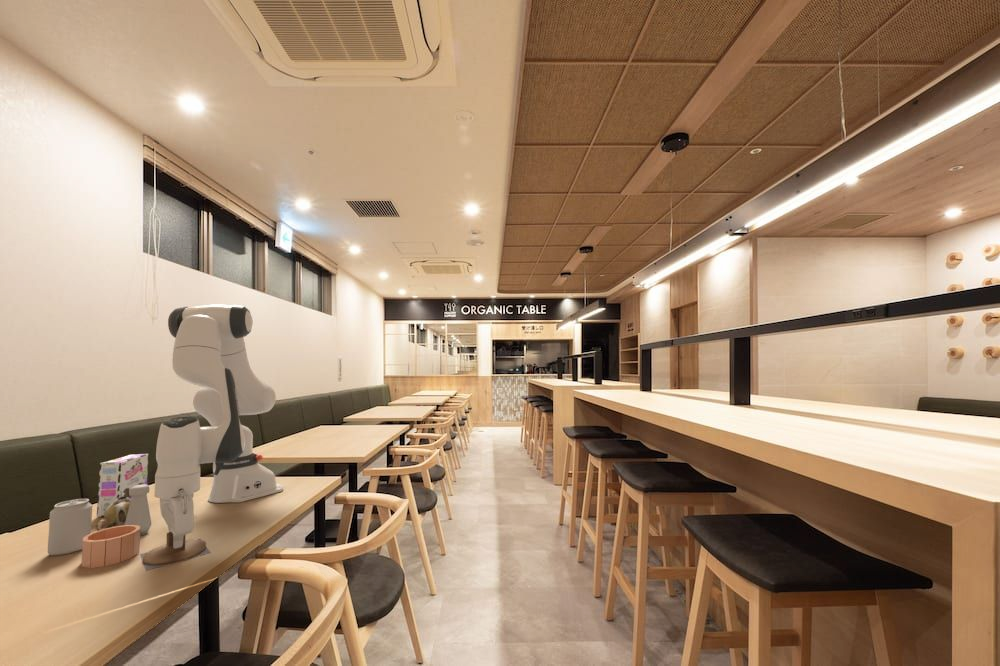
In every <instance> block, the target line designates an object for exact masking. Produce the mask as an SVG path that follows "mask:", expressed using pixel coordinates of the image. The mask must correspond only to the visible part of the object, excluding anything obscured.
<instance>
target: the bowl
mask: <svg viewBox="0 0 1000 666" xmlns="http://www.w3.org/2000/svg"><path fill="white" fill-rule="evenodd" d="M140 542H141V536H140V526H139V525H123V526H116V527H111V528H106V529H102V530H99V531H98V530H97V531H93V532H91V533H90V534H88V535H87V536H85V537H83V543H82V550H81V567H82V568H86V569H87V568H88V569H94V568H100V567H108V566H112V565H115V564H119V563H122V562H125V561H126V560H129V559H132V558H133V557H135V556H137V555H138V554H139V553H140V547H141V546H140V544H141V543H140Z"/></svg>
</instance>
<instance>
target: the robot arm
mask: <svg viewBox="0 0 1000 666" xmlns="http://www.w3.org/2000/svg"><path fill="white" fill-rule="evenodd" d="M167 327H168V331H169V333H170V335H171V336H172V337H173V338H174V345H173V349H172V350H173V351H172V361H171V362H172V369H173V372H174V373H175V375H177V377H179V379H182V380H183V381H185V382H187V383H189V384H192V385H194V386H197V387H201V388H199V389H198V390H197V391H196V392H195V394H194V396H193V401H192V405H193V409H194V410H195V411H196V413H197V414H199V415H200V416H202V417H203V418H204V419H205V420H206V421H207V422H208V423H209V424H210V426H201V425H200V420H199V419H198V418H197V417H194V416H193V417H192V416H177V417H173V418H168V419H166V420H164V421H162V423H161V424H160V427H159V431H158V436H157V440H156V441H157V442H156V445H155V446H156V448H155V459H156V463H157V469H156V472H155V474H154V494H153V495H154V497H155V498H159V506H160V507H159V509H160V514H161V517H162V518H163V521H164V522H165V523H166V525H167V527H168V533H169V532H172V533H173V548H175V549H176V548H180V547H182V546H183V538H184V535H185V534H186V535H187V534H191V533H193V531H194V529H195V526H194V525H195V508H194V507H195V506H194V505H195V504H194V495H195V494H194V493H197V492H199V491H200V489H201V464H211V463H213V464H212V473H213V480H212V486H211V489H210V494H209V496H208V500H207V501H208V502H210V503H216V504H217V503H220V504H221V503H223V504H225V503H243V502H245V501H250V500H254V499H258V498H261V497H265V496H269V495H273V494H276V493H280V492H282V491H283V490H284V489H283V485H282V484H281V483H279V482H277V479H276V475H275V473H274V472H273V471H272V470H271V469H269V468H267V467H265V466H264V465H262V464H261V463H259V462H260V461H262V460H263V459H264V455H261V454H258V453H255V452H253V444H254V440H253V439H254V435H253V432H252V430H251V429H250V428H249V427H248V426H245V425H243V424H242V422H241V416H251V415H252V416H253V415H254V416H255V415H260V414H264V413H268V412H270V411H271V410H272V409H273V407H274V406H275V405H276V400H277V396H276V391H275V390H274V388H273V387H272V386H271V385H268V384H267V383H265V382H263V381H262V380H261V379H259V377H257V375H256V374H255V373H254V372H253V370H252V368H251V366H250V363H249V359H248V354H247V349H246V348H247V347H246V343H245V339H244V338H245V337H247V336H248V335H249V334H250V333H251V332H252V328H253V317H252V314H251V311H250V309H248V308H247V307H246V306H244V305H238V304H233V305H228V304H209V305H196V306H182V307H178V308H175V309H173V310H172V311H171V313H169V316H168V319H167Z"/></svg>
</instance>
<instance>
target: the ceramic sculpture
mask: <svg viewBox="0 0 1000 666" xmlns="http://www.w3.org/2000/svg"><path fill="white" fill-rule="evenodd" d="M130 502H131V499H130V498H128V497H123V496H120V497H119V498H118V499H116V500H115V501H113V502H112V503H111V504H110V505H109V506H108V507H107V509H106V511H105V512H104V517H102V519H100V520H98V521H97V524H96V529H97V531H99V530H102V529H106V528H111V527H116V526H123V525H125V521H126V518H127V514H128V510H129V506H130Z"/></svg>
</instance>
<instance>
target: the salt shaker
mask: <svg viewBox="0 0 1000 666" xmlns="http://www.w3.org/2000/svg"><path fill="white" fill-rule="evenodd" d="M150 490H151V489H150V485H149V484H147V485H146V484H142V485H136V486H133V487H131V488H130V490H129V495H130V496H132V498H131V502H130V506H129V510H128V514H127V518H126V521H125V525H139V526H140V537H141V536H144V535H147V534H148V533H149V531H150V528H151V526H152V518H151V513H150V507H149V501H148V495H147V494H149V493H150Z"/></svg>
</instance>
